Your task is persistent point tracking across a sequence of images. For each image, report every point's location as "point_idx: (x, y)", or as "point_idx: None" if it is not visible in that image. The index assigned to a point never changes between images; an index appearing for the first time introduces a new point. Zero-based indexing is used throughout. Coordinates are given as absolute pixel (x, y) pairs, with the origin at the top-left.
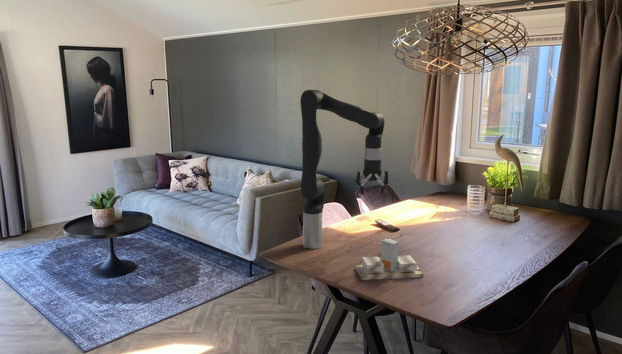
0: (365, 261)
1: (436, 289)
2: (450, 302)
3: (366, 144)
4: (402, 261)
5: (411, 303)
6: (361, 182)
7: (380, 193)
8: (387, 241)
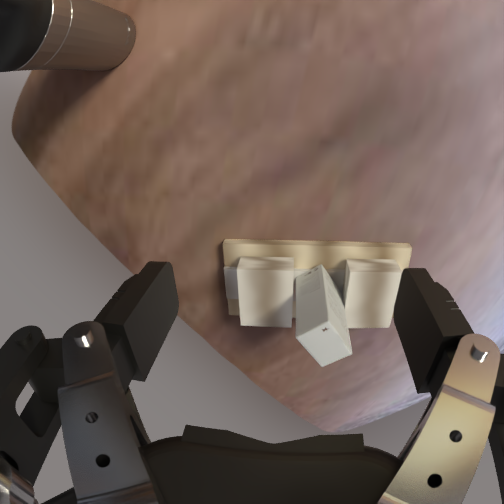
0: (240, 302)
1: (384, 362)
2: (375, 398)
3: None
4: (355, 313)
5: (306, 397)
6: (82, 370)
7: (395, 310)
8: (312, 348)
